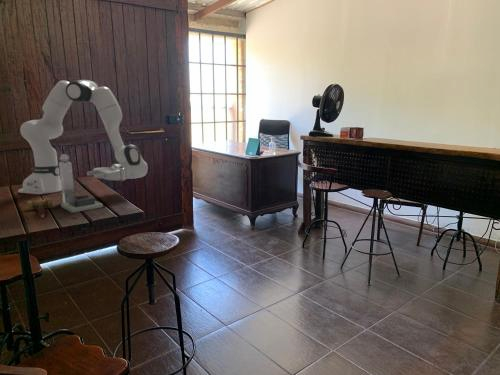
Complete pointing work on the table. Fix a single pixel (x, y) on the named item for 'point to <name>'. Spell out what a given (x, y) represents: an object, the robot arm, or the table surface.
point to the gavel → (40, 206)
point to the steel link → (66, 176)
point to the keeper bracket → (80, 203)
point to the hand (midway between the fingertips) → (90, 175)
